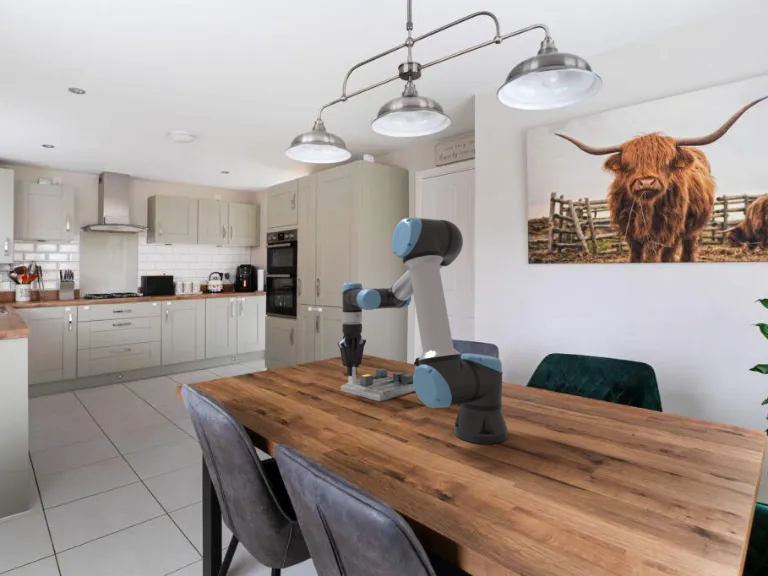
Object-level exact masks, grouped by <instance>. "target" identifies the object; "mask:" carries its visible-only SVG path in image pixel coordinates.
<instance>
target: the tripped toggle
mask: <svg viewBox="0 0 768 576" xmlns="http://www.w3.org/2000/svg"><path fill="white" fill-rule="evenodd" d="M373 376H374V375H372V374H369V373H366V374H362V375H360V385H361V386H369V385H373Z"/></svg>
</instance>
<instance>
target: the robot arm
mask: <svg viewBox="0 0 768 576" xmlns="http://www.w3.org/2000/svg"><path fill="white" fill-rule="evenodd" d="M463 238H464V237H463V234H462V231H461V230H460V228H459V227H458V226H457V225H456V224H455V223H453V222H451V221H450V220H447V219H446V220H445V219H434V218H422V217H417V216H416V217H405V218H403V219H401V220H400V221H399V222H398V223H397V225H396V226H395V228H394V232H393V234H392V240H391V247H392V252H393V253H394V254H395V256H396V257H397V258H399V259H402V265H403V267H404V268H405V269H406V271H405V272H404V273H403V275H401V276H400V277H399V278H398V279H397V281H395V283H394V284H393V285H391V287H389V288H385V287H384V288H383V287H382V288H363V284H362V283H360V282H344V283H343V285H342V292H341V295H342V320H341V322H342V330H341V331H342V334H343V337H342V340H341V341H340V342H339V341H338V342H337V345H338V347H339V351H340V357H341V362H342V366H343V367H346V369H347V371H346V372H347V377H348V379H347V380H348V384H351V385H355V384H356V380H357V374H358V368H359V367H360V365H362V360H363V355H364V349H365V346H366V342H367V340H366V339H364V338H362V332H363V324H362V322H363V310H365V311H372V310H378V309H379V310H380V309H402V308H407V307H409V305H410V303H411V302H412V296H413V299H414V305H415V310H416V311H415V312H416V318H417V323H418V330H419V331H418V332H419V335H420V342H421V349H422V354H421V355H420V358H419V357H418V358H419V366H418V367H417V368H416V369H414V371H413V374H412V375H413V384H414V388H415V391H414V392H415V393H416V395H417V398H418V397H419V399H420V400H419V399H418V400H419V401H422V403H423V404H424V405H426V407H428V408H431V409H437V408H448V407H451V406H455V405H460V407H459V409H458V410H459V411H458V413H457V416H456V418H455V422H454V427H453V428H454V431H453V433H454V435H455V436H456V437H457V438H458V439H460V440H462V441H466V442H470V443H474V444H479V445H480V444H482V445H483V444H484V445H485V444H486V445H487V444H488V445H492V444H499V443H502V442H504V441H506V440H507V439H508V432H509V431H508V426H507V422H506V420H505V417H504V416H505V415H504V413H503V410H502V402H503V401H502V398H503V373H504V372H503V367H502V366H503V364H502V361H501V360H500V359H499V358H498V357H494V356H490V355H484V354H478V353H461V352H459V351H458V350H456V348H454V343H453V337H452V332H451V327H450V321H449V316H448V309H447V304H446V298H445V293H444V288H443V282H442V280H443V279H442V276H441V271H440V270H441V269H442V268H443V267H448V266H450V265H451V264H452V263H454V261H456V259H457V258H458V257H459V255H460V254H461V251H462V250H463V249H462V248H463V246H464V239H463Z"/></svg>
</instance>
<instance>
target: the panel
mask: <svg viewBox="0 0 768 576" xmlns="http://www.w3.org/2000/svg"><path fill="white" fill-rule="evenodd" d="M413 375H414V374H412V373H407V374H406V373H405V372H401V371H398V372H393V373H392V375H389V374H388V369H387V368H383V367H382V368H378V369H375V375H372V376H373V385H369V386H361V385H360V379H359V378H358V379H356V384H355V385H351V384H348V382H346V383H345V384H343V385H340V391H341V392H343V393H344V392H345V393H348V394H351V395H354V396H357V397H362V398H365V399H368V400H369V399H370V400H373V401H376V402H383V401H387V400H390V399H393V398H396V397H400V396H405V395H406V394H410V393H414V392H416V391H415V388H414V384H413Z"/></svg>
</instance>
